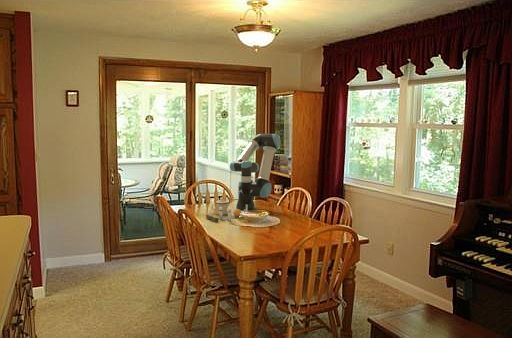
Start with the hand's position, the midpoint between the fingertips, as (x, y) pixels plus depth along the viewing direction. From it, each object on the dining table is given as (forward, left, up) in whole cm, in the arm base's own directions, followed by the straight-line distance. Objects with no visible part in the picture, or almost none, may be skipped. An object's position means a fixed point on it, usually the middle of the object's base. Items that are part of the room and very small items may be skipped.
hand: (245, 213), depth 337 cm
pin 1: (+21, 0, -2) cm, 21 cm away
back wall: (+28, 0, -2) cm, 28 cm away
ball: (+7, 0, +1) cm, 7 cm away
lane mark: (+13, 0, -2) cm, 13 cm away
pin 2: (+18, +7, -2) cm, 20 cm away
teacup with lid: (+12, -17, -2) cm, 21 cm away
